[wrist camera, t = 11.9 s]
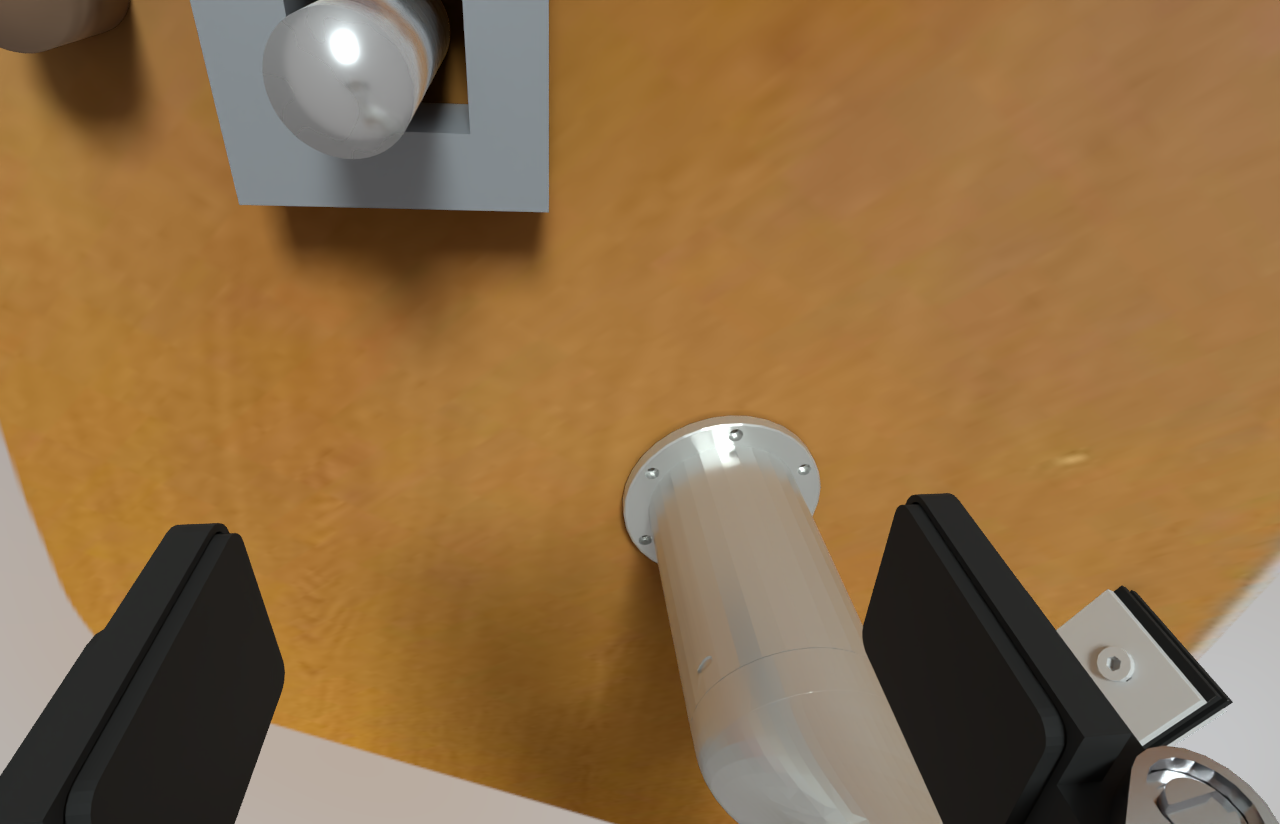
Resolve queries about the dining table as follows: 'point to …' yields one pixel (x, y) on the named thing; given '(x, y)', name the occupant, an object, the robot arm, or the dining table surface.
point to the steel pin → (354, 71)
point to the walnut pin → (55, 22)
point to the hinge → (1143, 669)
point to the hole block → (432, 143)
